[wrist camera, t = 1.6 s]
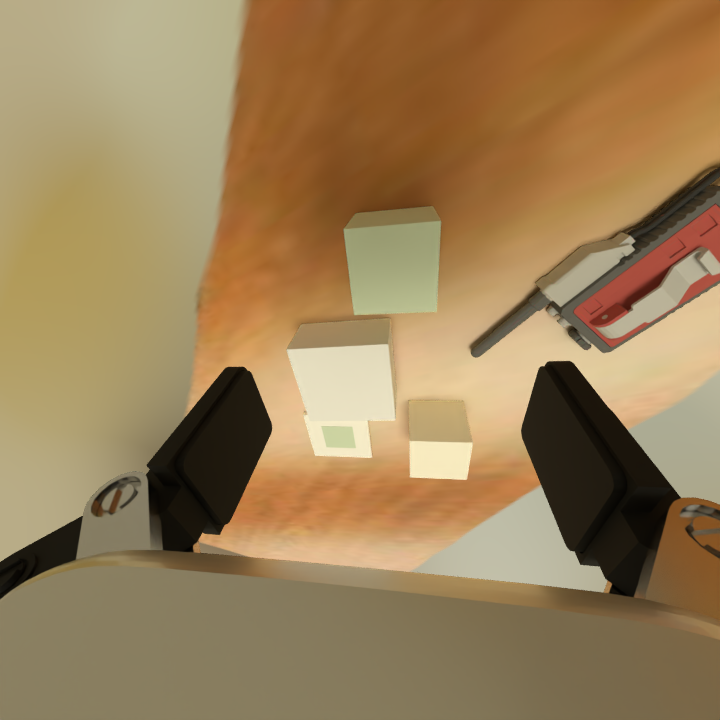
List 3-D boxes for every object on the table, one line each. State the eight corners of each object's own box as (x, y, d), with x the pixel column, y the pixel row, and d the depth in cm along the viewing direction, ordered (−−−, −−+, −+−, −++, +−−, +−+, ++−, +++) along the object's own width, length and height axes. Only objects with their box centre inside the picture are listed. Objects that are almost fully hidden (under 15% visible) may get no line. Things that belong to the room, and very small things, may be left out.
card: (304, 411, 37) (303, 415, 37) (367, 412, 36) (366, 416, 36) (315, 452, 42) (315, 456, 41) (372, 454, 41) (372, 458, 40)
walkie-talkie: (699, 136, 19) (462, 342, 29) (768, 134, 15) (470, 368, 26) (762, 226, 21) (520, 386, 32) (835, 241, 18) (535, 416, 28)
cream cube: (408, 399, 34) (409, 441, 29) (462, 400, 33) (473, 442, 28) (409, 435, 38) (410, 477, 33) (458, 436, 37) (466, 479, 32)
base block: (301, 322, 30) (286, 349, 26) (390, 316, 29) (388, 344, 25) (320, 390, 35) (309, 421, 31) (396, 388, 34) (395, 420, 30)
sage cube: (355, 212, 24) (343, 229, 19) (432, 205, 23) (441, 220, 18) (362, 285, 27) (354, 314, 22) (430, 281, 26) (436, 311, 21)
